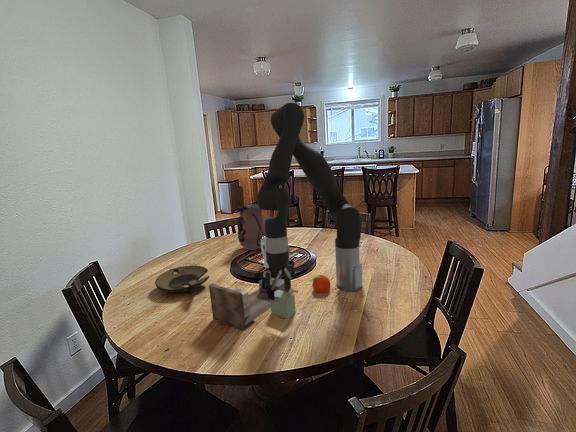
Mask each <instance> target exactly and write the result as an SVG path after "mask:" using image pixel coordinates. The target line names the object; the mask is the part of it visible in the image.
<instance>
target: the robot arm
mask: <svg viewBox="0 0 576 432" xmlns="http://www.w3.org/2000/svg"><path fill="white" fill-rule="evenodd" d="M304 121H305V112H304V110H303V108H302V106H301V105H300V104H298V102H295V101H288V102H287V103H284V104H283V105H282V106H280V107H279V108H278V109H276V110H275V111H273V113H272V114H271V116H270V125H271V126H272V129H273V130H274V133H276V135H277V136H278V137H279V139H278V142H277V144H276V146H275V148H274V150H273V152H272V154H271V156H270V161H269V164H268V169H267V174H266V177H265V178H264V180H263V182H262V185H261V186H260V188H259V191H258V193H257V195H256V204H258V206H259V207H260V208H261V209H262V211H270V210H273V211H277V215H275V216H272V217H270V216H269V217H267V218H266V219H264V220H265V236H266V238H265V247H266V262H267V264H268V265H269V269H268V270H266V271H264V270H262V271H261V280H262V289H265V290H267V293H268V298H269V299H270V300H274V299H275V294H274V287H275V284H277V282H278V280H279V279H283V278H284V287H285V289H286V290H290V289H292V282H291V281H292V279H293V277H295V263H294V260H293V259H290V250H289V239H288V232H287V230H288V229H287V221H288V213H289V209H290V206H291V200H292V199H291V193H290V191H289V190H288V189H287V188H284V187H282V186H284V185H287V183H288V182H289V179H290V178H289V177H290V172H291V171H290V170H291V165H292V161H293V158H294V159H295V161H296V162H297V163H298V165H299V166H300V168H301V170H302V172H303V173H304V175H305V177H306V178H307V180H308V182H309V183H310V185H312V187H313V188H314V190H315V191H316V192H317V194H319V196H320V197H321V198H322V200H323V202H324V204H325V205H326V207H327V209H328V211H329V213H330V215H331V218H332V219H333V222H334V223H335V224H336V237H335V238H334V246H335V275H336V276H335V277H336V286H337V289H339V290H341V291H343V292H357V291H358V290H359V289H360V288H361V287H362V286H363V264H362V263H361V262H360V261H361V260H360V259H361V257H360V241H361V237H362V217H361V213H360V211H359V210H358V209H357V208H356V207H355V206H353V205H352V204H351V203H350V202H349V201H348V200H347V198H346V197H345V196H344V194H343V193H342V191H341V190H340V188H339V185H338V183H337V182H338V181H337V179H336V176H335V174H334V172H333V170H332V168H331V166H330V164H329V163H328V161H327V160H326V158H325V157H324V155H322V153H321V152H319V151H317V150H316V149H314V147H313V148H312V147H311V146H310V145H308V144H306V143H305V142H304V141H303V140H302V139H301V137H300V134H301V131H302V129H303V128H302V127H303V125H304ZM271 278H273V279H275V280H271ZM271 282H272V285H271V286H270V284H271Z"/></svg>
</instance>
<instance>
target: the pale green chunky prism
mask: <svg viewBox="0 0 576 432" xmlns="http://www.w3.org/2000/svg"><path fill="white" fill-rule="evenodd" d="M274 294H275V299H274V300H270V303H271V308H270V311H271V313H270V314H273V315H276V316H279V317H282V318H285V319H289V318H291V316H294V314H295V313H296V299H295V298H296V297H295V294H294V293H288V292H285V291H281V290H277V291H275V292H274Z"/></svg>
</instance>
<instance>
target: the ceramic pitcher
mask: <svg viewBox="0 0 576 432" xmlns="http://www.w3.org/2000/svg"><path fill="white" fill-rule="evenodd" d="M238 210H239V213H240V214H239V221H238V222H239V224H238V228H237V229H238V231H237V238H238V242H239V244H240V245H241V247H243V248H244V249H245V250H248V251H257V250H256V249H258V250H260V249H261V238H263V237H266V236H265V220H266V219H265V218H264V216H263V213H262V212H263V210H262V209H261V208H260V207H259V206H258V203H252V204H244V205H243V206H239V207H238ZM269 212H270V213H269V217H274V216H273V215H274V210H269ZM259 248H260V249H259Z"/></svg>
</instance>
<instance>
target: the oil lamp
mask: <svg viewBox="0 0 576 432" xmlns="http://www.w3.org/2000/svg"><path fill="white" fill-rule="evenodd" d="M208 272H209V270H208V268H206V267H205V266H201V265H185V266H184V265H183V266H177V267H175V268H174V267H173V268H170V269H169V270H166V271H164V272H162V273H160V274H159V275H158V276H157V278H156V279H155V281H154V284H155V286H156V288H157V289H159V290H160V291H163V292H168V293H169V292H170V293H180V292H181V293H183V292H184V293H185V292H189V293H195V292H196V291H197V290H198V288H199V287H200V286H202V285H203V284H204V283H206V282H207V280H209V278H210V275H207V276H205V277H203V276H204V275H206V273H208ZM202 277H203V278H202ZM184 285H187V286H184Z"/></svg>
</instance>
